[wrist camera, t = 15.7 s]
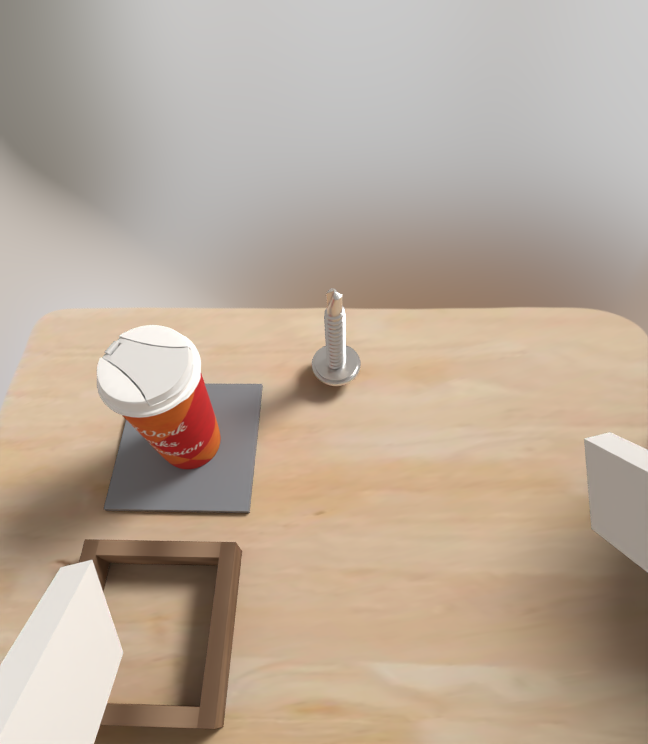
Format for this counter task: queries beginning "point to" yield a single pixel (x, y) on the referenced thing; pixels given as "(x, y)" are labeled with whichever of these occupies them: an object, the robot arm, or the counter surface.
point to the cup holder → (219, 634)
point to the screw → (335, 347)
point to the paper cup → (161, 393)
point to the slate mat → (200, 485)
